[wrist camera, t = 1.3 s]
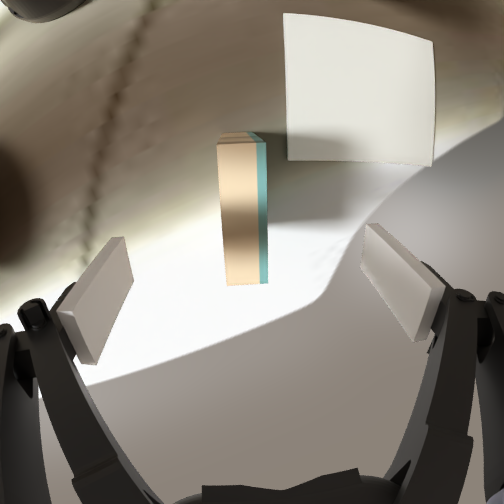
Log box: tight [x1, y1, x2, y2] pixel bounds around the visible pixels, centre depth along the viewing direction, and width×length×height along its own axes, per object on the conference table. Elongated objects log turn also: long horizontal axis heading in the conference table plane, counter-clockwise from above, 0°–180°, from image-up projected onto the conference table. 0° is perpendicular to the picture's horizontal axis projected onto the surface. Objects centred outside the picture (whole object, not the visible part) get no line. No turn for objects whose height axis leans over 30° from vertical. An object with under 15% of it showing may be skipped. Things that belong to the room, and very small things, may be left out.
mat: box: [283, 13, 435, 167], centre depth 26 cm, size 16×18×1 cm
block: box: [217, 132, 268, 286], centre depth 25 cm, size 10×3×12 cm, turn 2°
